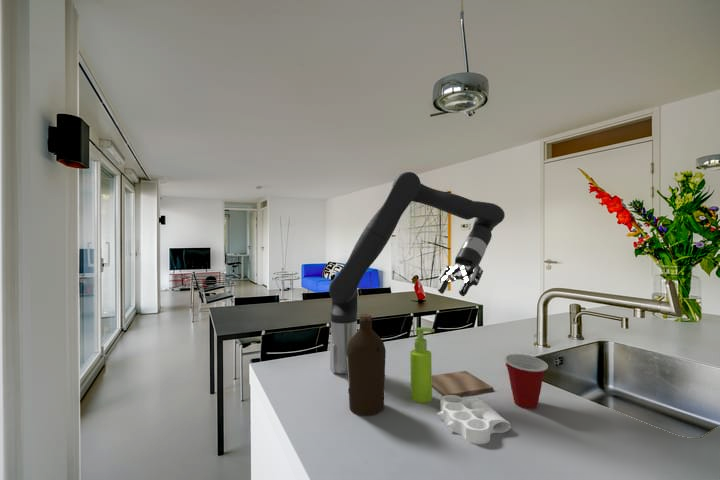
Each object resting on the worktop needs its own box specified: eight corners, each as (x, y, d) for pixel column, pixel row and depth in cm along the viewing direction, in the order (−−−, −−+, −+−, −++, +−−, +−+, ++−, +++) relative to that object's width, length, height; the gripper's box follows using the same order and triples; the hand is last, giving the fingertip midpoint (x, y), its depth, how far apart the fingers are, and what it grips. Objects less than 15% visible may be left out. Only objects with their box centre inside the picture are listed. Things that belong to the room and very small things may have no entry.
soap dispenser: (435, 404, 94) (434, 331, 94) (410, 402, 95) (409, 330, 96) (435, 394, 100) (434, 326, 100) (411, 392, 101) (410, 325, 101)
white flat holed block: (519, 441, 77) (458, 448, 74) (478, 404, 94) (427, 409, 92) (518, 426, 77) (458, 433, 74) (477, 392, 94) (427, 396, 92)
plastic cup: (531, 418, 86) (530, 370, 86) (496, 400, 95) (495, 357, 96) (558, 407, 91) (557, 362, 91) (522, 392, 100) (521, 351, 101)
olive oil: (391, 401, 96) (389, 312, 96) (379, 420, 86) (377, 320, 86) (356, 396, 99) (354, 310, 100) (340, 413, 90) (339, 317, 90)
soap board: (445, 398, 97) (445, 394, 97) (422, 379, 111) (422, 376, 111) (493, 390, 102) (493, 387, 102) (465, 373, 115) (465, 370, 115)
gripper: (448, 247, 118) (427, 284, 111) (483, 245, 106) (462, 287, 100) (460, 260, 121) (440, 298, 114) (495, 261, 109) (475, 302, 103)
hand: (450, 293), depth 107 cm, fingers open, 8 cm apart
